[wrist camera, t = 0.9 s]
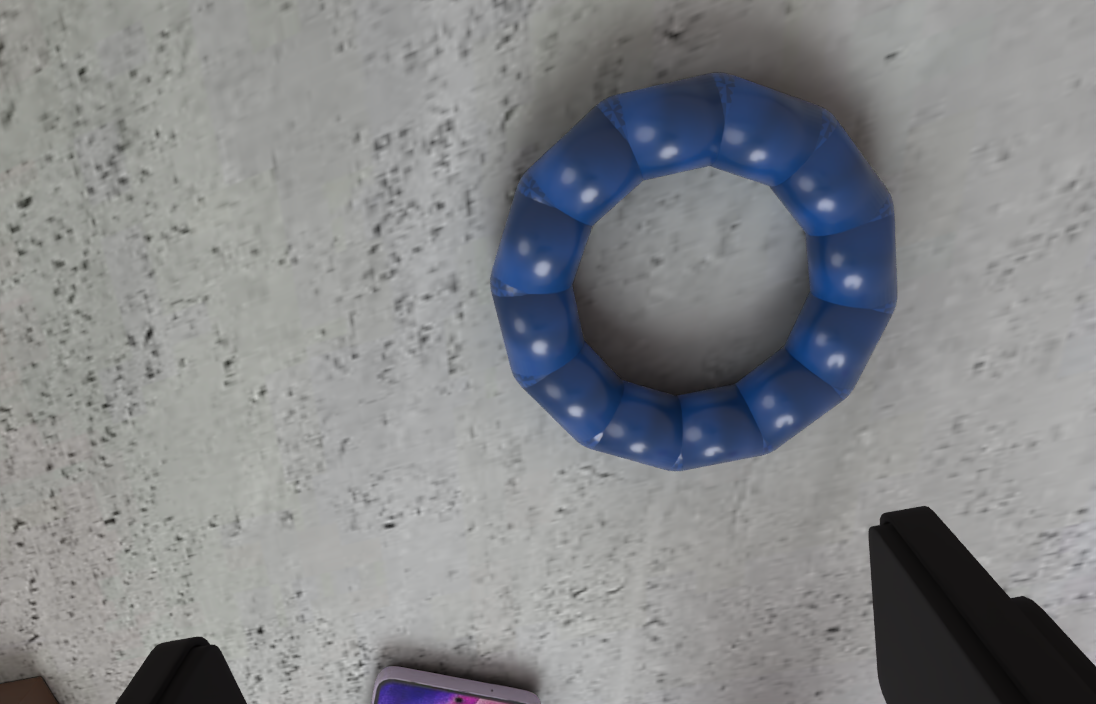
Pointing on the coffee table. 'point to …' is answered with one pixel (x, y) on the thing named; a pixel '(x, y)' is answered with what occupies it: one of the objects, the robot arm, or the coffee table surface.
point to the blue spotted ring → (667, 148)
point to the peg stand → (26, 692)
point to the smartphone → (441, 689)
